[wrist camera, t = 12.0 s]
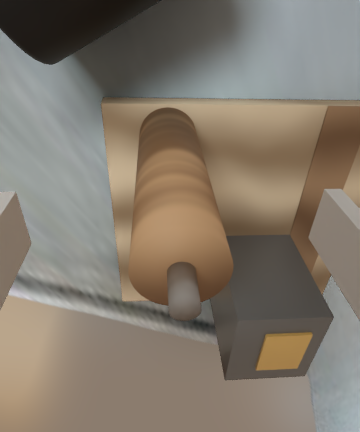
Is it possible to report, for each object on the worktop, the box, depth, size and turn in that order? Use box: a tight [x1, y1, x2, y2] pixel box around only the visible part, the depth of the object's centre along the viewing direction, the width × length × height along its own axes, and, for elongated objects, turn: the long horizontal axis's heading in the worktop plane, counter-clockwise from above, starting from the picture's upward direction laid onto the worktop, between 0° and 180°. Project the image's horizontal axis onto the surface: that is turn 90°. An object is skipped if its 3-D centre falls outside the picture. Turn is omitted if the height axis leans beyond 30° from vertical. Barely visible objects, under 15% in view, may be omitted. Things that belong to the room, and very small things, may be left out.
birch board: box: [101, 97, 360, 301], centre depth 26 cm, size 18×19×1 cm
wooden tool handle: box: [128, 107, 233, 321], centre depth 15 cm, size 4×4×14 cm
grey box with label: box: [210, 235, 334, 380], centre depth 25 cm, size 7×6×8 cm
